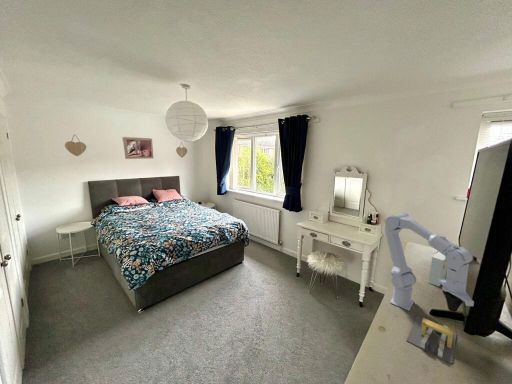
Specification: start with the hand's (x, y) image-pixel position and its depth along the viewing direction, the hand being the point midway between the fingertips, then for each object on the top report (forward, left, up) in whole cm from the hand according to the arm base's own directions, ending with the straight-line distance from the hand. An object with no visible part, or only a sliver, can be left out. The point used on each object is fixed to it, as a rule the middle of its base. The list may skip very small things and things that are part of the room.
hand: (452, 310), depth 83 cm
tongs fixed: (+9, -2, -9) cm, 13 cm away
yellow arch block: (+9, -3, -10) cm, 14 cm away
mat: (+8, -5, -10) cm, 13 cm away
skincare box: (-47, -8, -10) cm, 49 cm away
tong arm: (+11, -5, -9) cm, 15 cm away
